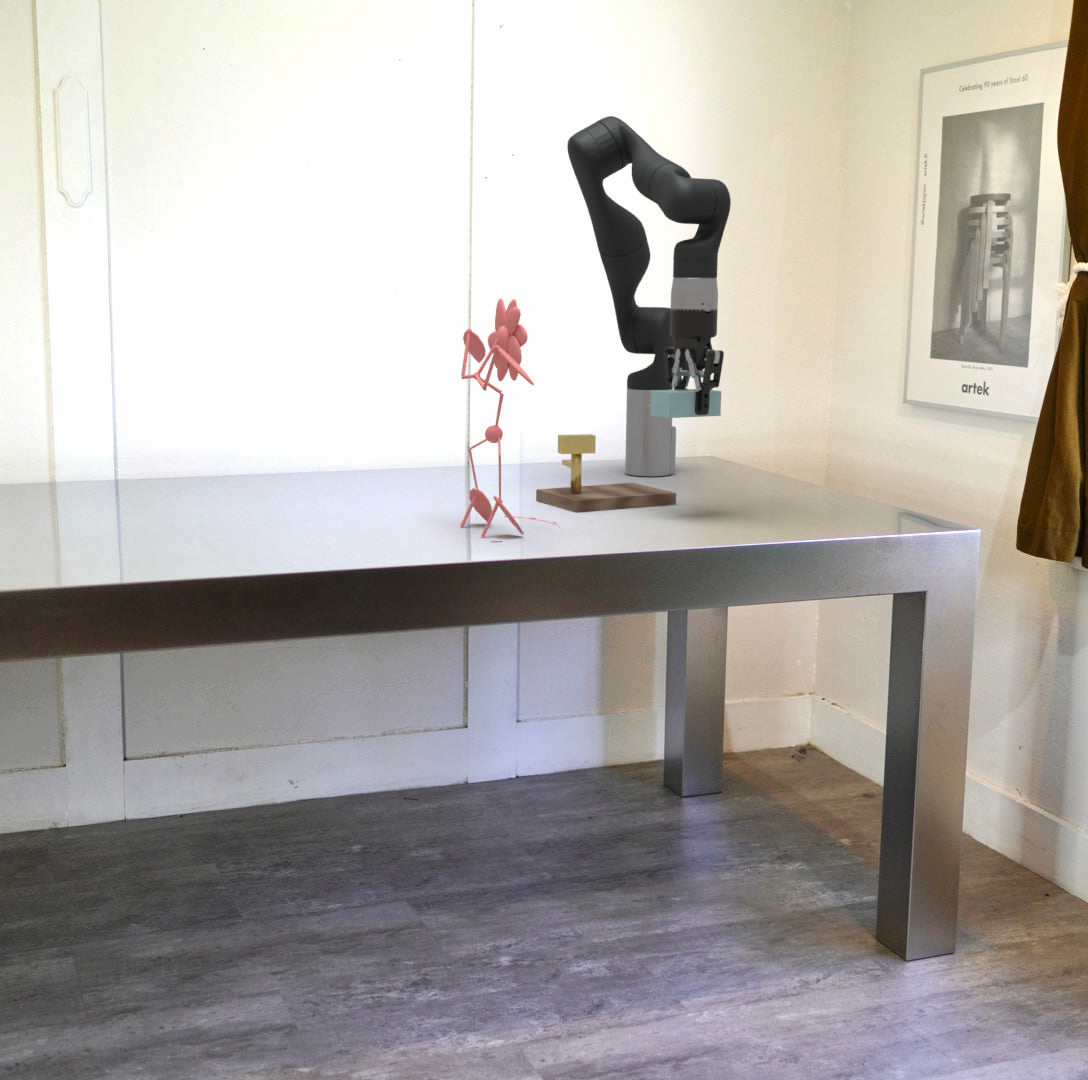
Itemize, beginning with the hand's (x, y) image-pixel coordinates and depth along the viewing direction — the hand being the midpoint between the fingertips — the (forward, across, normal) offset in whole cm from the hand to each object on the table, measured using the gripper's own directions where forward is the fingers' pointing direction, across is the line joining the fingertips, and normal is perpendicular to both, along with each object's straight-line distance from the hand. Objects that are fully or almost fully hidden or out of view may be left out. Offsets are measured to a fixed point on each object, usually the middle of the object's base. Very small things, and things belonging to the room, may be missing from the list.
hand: (690, 412), depth 217 cm
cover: (0, 0, -1) cm, 1 cm away
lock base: (+17, -18, -5) cm, 25 cm away
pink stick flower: (+17, -1, -32) cm, 36 cm away
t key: (+15, -20, -10) cm, 27 cm away
